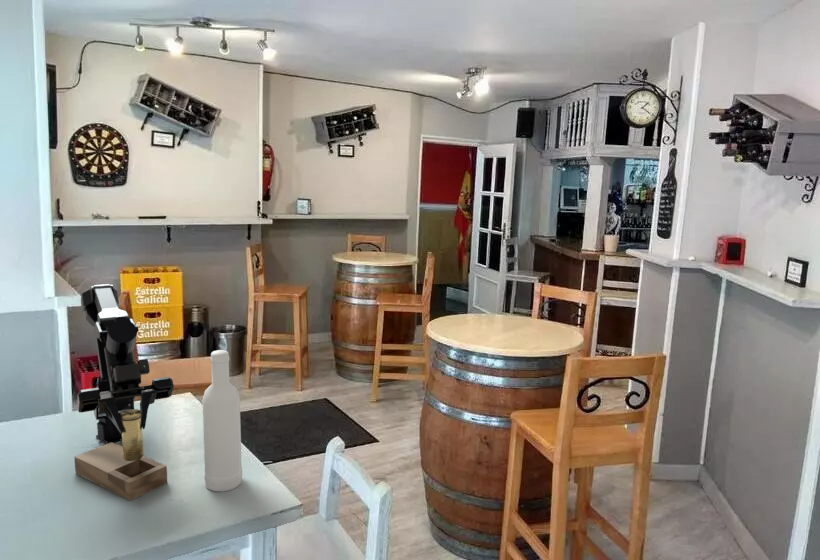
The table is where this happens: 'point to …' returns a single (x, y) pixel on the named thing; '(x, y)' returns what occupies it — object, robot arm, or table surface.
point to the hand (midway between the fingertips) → (132, 430)
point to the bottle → (221, 428)
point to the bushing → (132, 434)
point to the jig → (120, 471)
